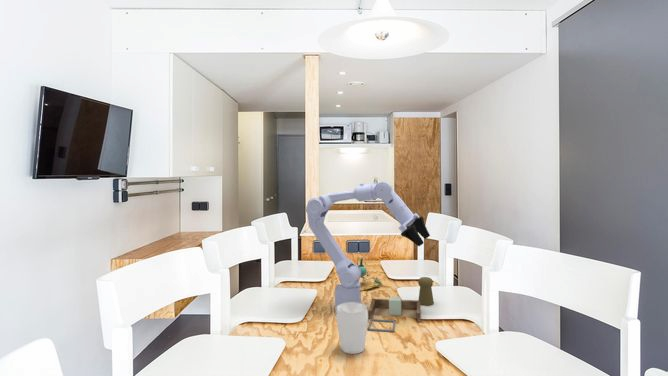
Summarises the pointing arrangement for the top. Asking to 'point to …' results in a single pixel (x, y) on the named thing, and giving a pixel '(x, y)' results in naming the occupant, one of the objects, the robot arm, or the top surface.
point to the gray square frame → (381, 329)
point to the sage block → (395, 306)
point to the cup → (352, 326)
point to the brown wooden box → (408, 307)
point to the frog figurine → (369, 284)
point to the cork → (425, 291)
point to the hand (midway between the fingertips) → (424, 241)
